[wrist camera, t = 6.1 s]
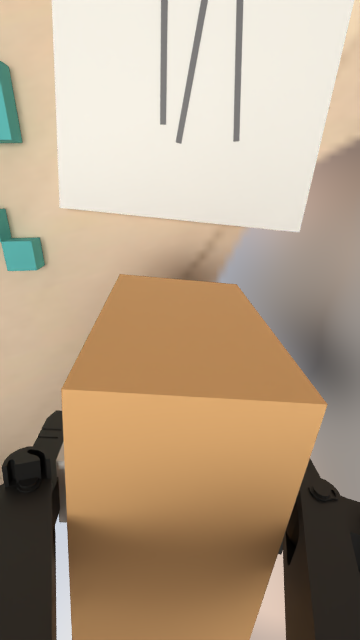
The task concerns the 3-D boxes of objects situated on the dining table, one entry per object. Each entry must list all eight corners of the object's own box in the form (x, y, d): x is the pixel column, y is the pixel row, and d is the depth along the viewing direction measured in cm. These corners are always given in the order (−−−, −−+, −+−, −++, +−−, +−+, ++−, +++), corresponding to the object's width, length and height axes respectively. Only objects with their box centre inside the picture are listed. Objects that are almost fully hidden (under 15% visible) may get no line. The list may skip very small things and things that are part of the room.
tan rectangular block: (210, 436, 20) (248, 641, 11) (114, 431, 20) (72, 642, 11) (236, 284, 17) (327, 404, 7) (119, 274, 16) (61, 389, 7)
